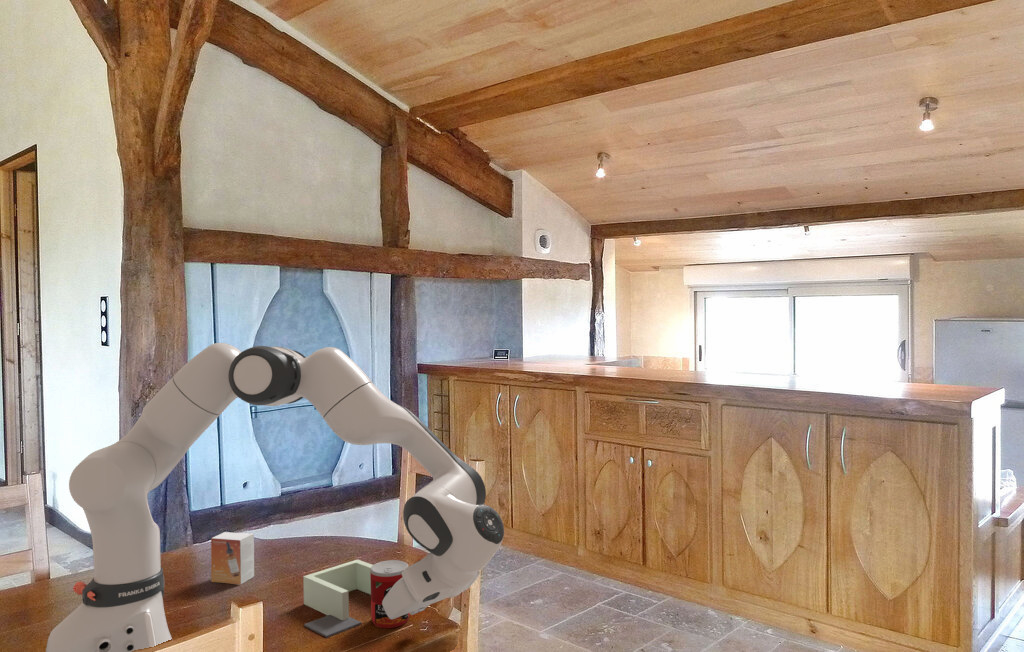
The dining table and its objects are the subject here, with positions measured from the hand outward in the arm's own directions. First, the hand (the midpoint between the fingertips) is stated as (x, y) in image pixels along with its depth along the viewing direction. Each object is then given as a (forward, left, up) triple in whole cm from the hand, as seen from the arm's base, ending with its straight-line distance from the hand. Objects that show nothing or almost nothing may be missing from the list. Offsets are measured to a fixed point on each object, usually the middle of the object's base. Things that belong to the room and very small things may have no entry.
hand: (414, 609), depth 141 cm
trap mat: (-9, +15, -4) cm, 18 cm away
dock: (0, +21, -4) cm, 21 cm away
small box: (-10, +55, -5) cm, 56 cm away
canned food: (0, +8, -4) cm, 9 cm away
